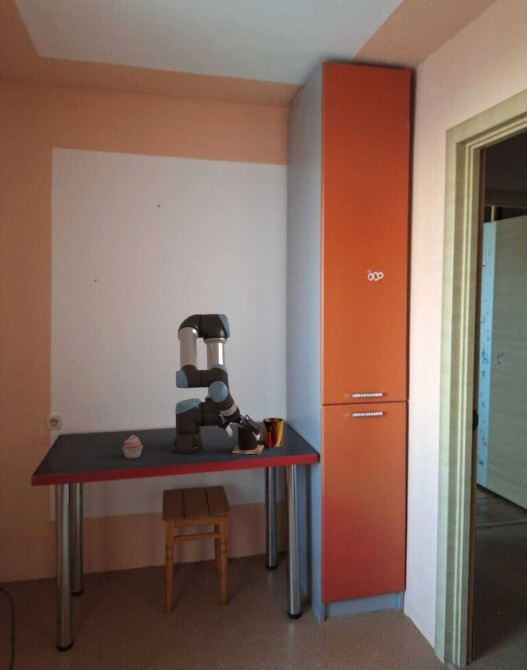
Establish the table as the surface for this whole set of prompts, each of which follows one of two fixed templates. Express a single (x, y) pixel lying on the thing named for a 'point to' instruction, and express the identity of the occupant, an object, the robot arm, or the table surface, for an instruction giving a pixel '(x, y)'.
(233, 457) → the table surface
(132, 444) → the cupcake
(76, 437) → the table surface
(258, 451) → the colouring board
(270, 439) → the mug
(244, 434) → the pen holder
